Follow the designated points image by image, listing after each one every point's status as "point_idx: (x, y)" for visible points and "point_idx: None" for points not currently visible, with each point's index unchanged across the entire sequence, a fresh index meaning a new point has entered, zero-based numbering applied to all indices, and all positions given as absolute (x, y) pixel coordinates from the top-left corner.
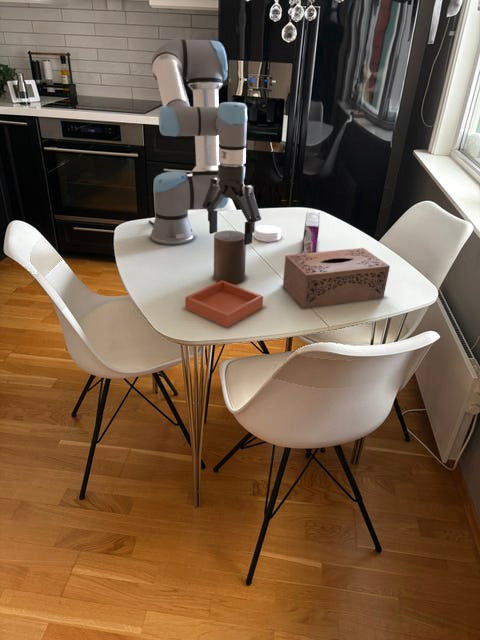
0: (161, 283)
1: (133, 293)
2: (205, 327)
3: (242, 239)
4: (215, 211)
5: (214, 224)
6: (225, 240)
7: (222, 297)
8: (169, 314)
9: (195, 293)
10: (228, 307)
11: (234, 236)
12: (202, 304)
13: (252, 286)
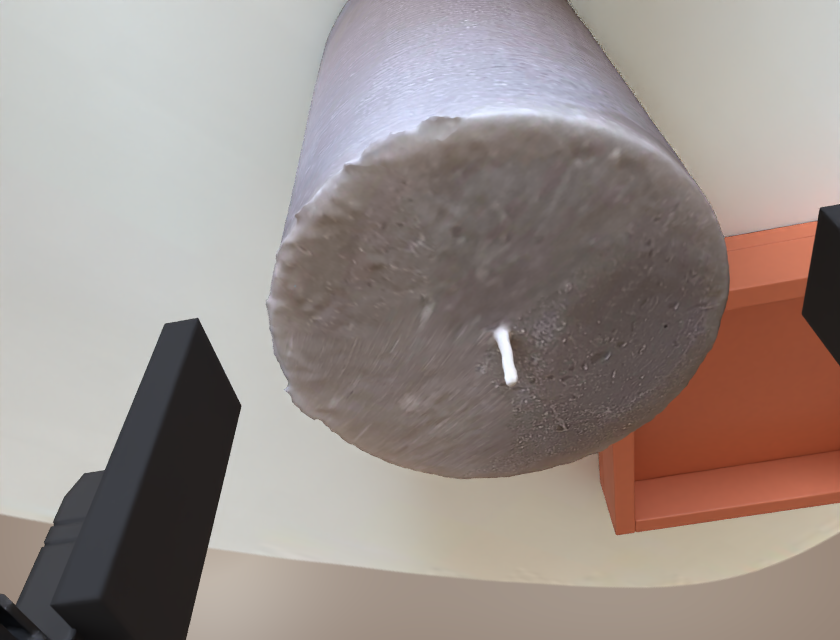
0: (276, 453)
1: (314, 561)
2: None
3: (727, 290)
4: (122, 626)
5: (192, 447)
6: (593, 450)
7: None
8: (588, 536)
9: (624, 492)
10: (797, 374)
11: (578, 320)
12: (739, 516)
13: (709, 35)
